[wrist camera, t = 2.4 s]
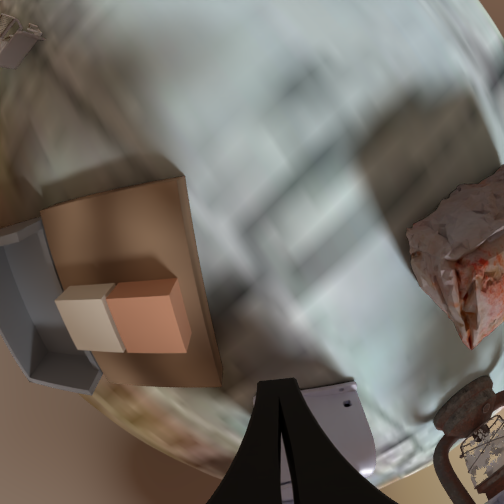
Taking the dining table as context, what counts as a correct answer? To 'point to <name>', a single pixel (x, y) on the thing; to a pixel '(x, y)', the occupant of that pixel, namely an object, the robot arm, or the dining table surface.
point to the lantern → (464, 426)
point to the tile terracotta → (150, 316)
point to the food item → (464, 257)
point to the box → (39, 313)
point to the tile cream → (90, 318)
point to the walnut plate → (139, 271)
